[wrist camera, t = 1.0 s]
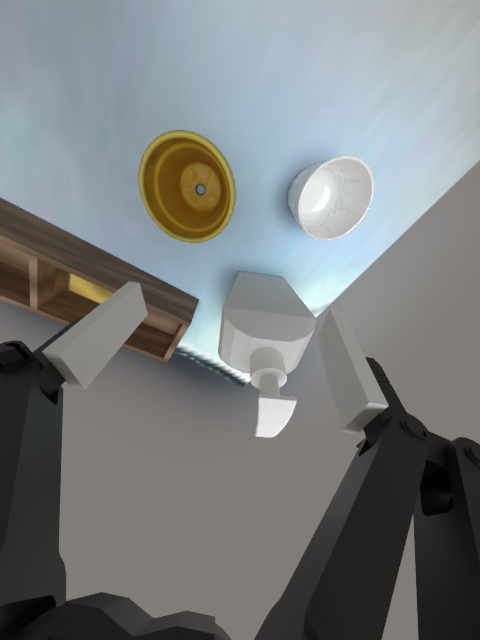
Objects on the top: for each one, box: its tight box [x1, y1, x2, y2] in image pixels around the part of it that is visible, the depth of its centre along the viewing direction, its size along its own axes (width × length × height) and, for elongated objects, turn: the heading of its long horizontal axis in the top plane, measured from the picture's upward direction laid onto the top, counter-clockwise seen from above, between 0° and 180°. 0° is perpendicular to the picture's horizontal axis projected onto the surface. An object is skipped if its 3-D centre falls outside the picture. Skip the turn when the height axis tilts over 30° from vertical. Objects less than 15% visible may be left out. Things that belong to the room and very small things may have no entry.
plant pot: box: [139, 130, 235, 243], centre depth 25 cm, size 10×10×10 cm
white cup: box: [288, 156, 374, 241], centre depth 25 cm, size 8×8×10 cm
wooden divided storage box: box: [0, 198, 199, 363], centre depth 35 cm, size 13×36×8 cm, turn 58°
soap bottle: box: [218, 271, 316, 437], centre depth 29 cm, size 12×10×26 cm
